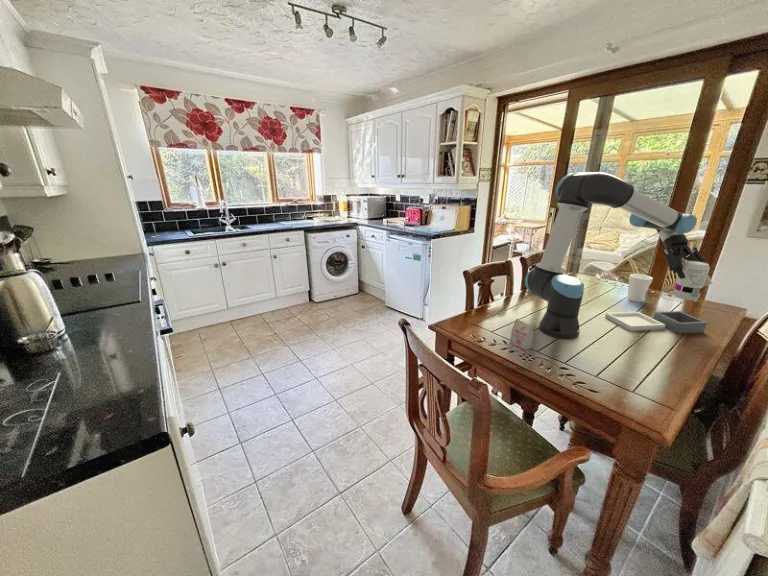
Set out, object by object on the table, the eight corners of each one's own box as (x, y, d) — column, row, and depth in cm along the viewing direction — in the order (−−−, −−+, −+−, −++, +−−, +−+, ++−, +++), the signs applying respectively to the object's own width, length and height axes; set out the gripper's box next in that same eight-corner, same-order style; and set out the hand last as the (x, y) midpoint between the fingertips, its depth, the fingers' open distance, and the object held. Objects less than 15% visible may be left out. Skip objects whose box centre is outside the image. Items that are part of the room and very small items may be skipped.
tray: (629, 331, 133) (630, 326, 132) (604, 317, 146) (606, 312, 146) (664, 329, 134) (665, 324, 134) (636, 315, 148) (638, 311, 147)
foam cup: (638, 296, 171) (644, 274, 166) (650, 303, 162) (657, 279, 158) (619, 296, 171) (625, 273, 167) (630, 302, 163) (637, 279, 158)
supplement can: (667, 294, 135) (678, 261, 130) (680, 292, 137) (692, 259, 132) (689, 301, 128) (702, 266, 123) (703, 299, 130) (716, 264, 125)
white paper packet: (516, 340, 126) (519, 318, 123) (531, 347, 121) (535, 324, 117) (510, 342, 125) (513, 320, 121) (524, 350, 119) (528, 326, 116)
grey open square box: (677, 333, 131) (680, 323, 129) (651, 321, 142) (654, 312, 141) (703, 332, 132) (707, 322, 130) (676, 320, 143) (679, 311, 142)
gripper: (687, 242, 141) (712, 288, 131) (644, 243, 139) (666, 289, 130) (703, 232, 134) (731, 280, 125) (658, 233, 133) (683, 281, 123)
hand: (698, 284), depth 127 cm, fingers closed on supplement can, 8 cm apart
